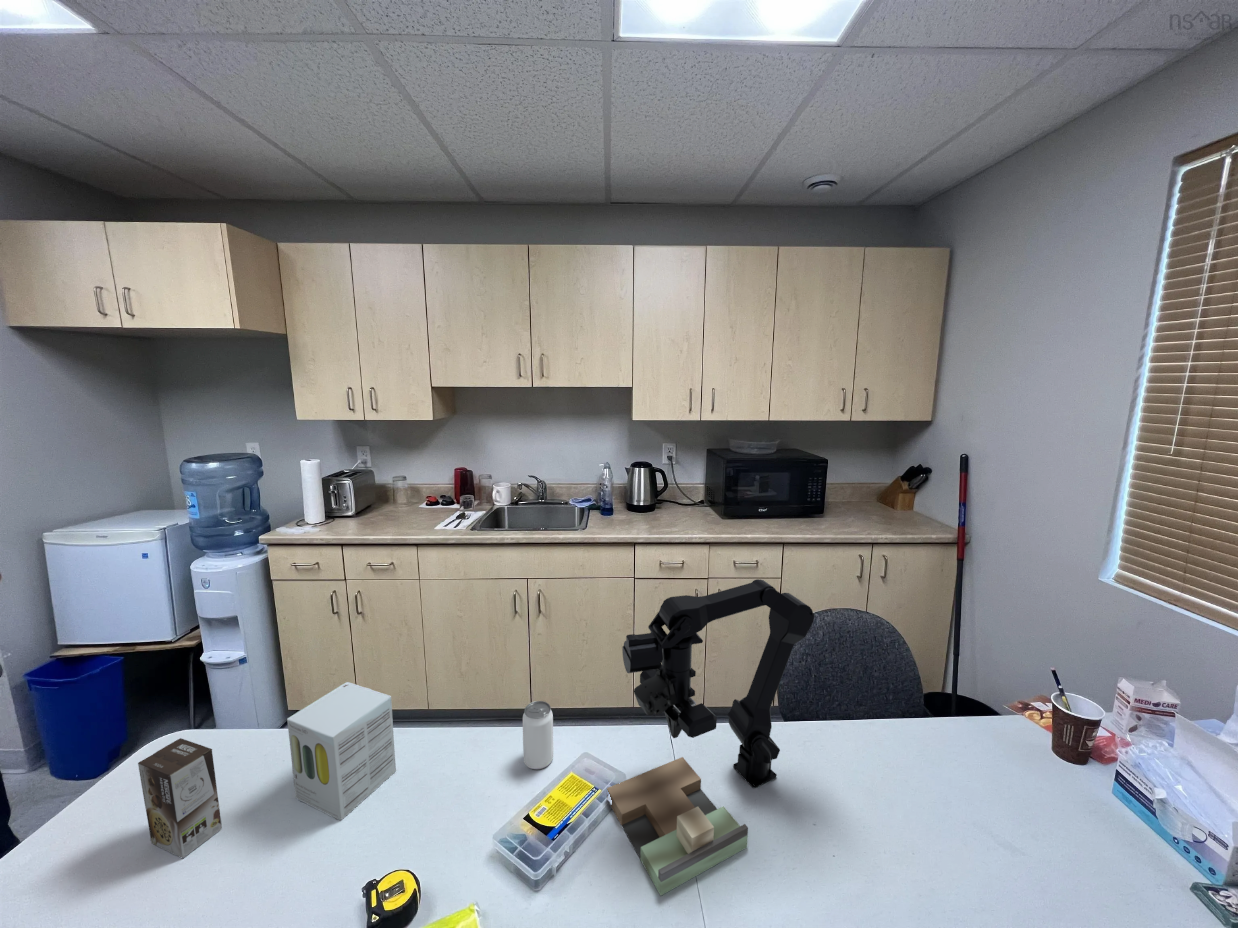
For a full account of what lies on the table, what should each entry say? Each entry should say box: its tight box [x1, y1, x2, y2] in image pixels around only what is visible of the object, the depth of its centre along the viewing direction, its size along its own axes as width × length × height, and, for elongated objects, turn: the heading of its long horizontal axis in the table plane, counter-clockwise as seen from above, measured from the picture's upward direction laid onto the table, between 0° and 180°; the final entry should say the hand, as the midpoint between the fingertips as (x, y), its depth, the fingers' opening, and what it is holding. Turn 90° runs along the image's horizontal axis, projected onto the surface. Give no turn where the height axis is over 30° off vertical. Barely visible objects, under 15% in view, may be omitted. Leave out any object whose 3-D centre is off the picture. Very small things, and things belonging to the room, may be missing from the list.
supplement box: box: [286, 681, 397, 821], centre depth 93 cm, size 13×13×18 cm
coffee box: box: [137, 737, 223, 859], centre depth 82 cm, size 9×6×16 cm
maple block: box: [676, 807, 714, 854], centre depth 80 cm, size 4×4×4 cm
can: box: [522, 700, 554, 770], centre depth 101 cm, size 6×6×12 cm
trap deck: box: [606, 756, 749, 896], centre depth 86 cm, size 20×18×4 cm
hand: (674, 736), depth 92 cm, fingers closed
